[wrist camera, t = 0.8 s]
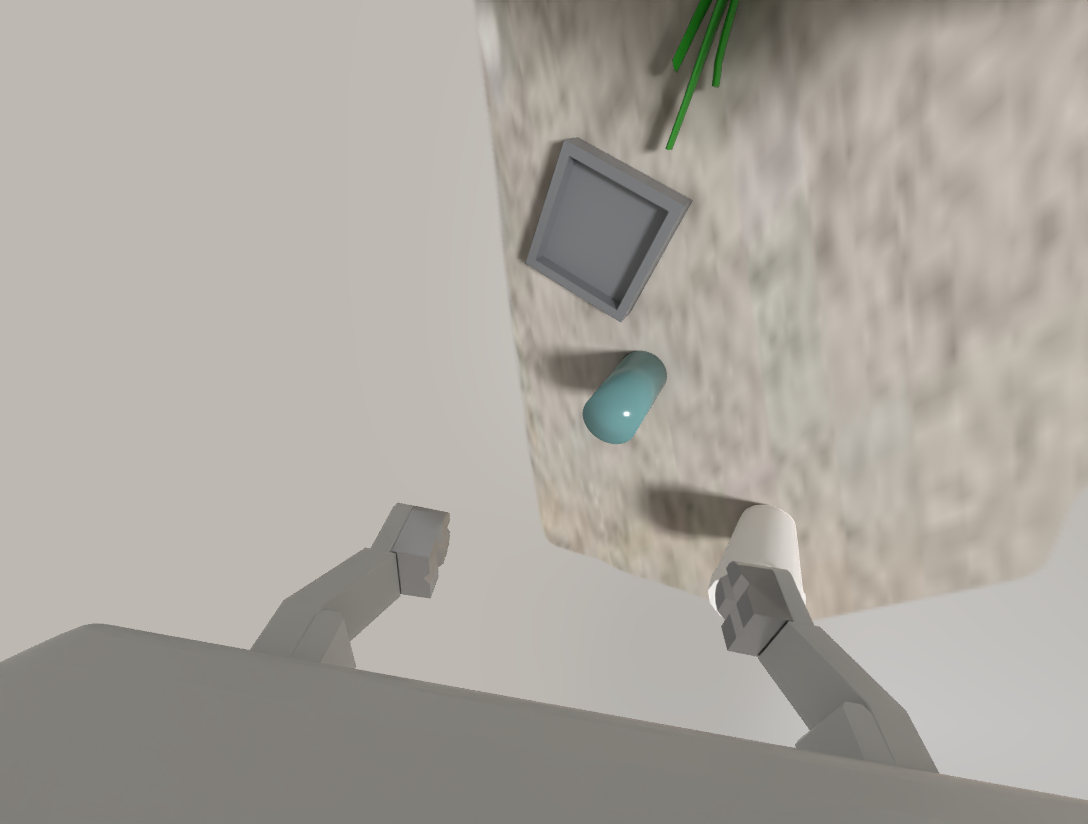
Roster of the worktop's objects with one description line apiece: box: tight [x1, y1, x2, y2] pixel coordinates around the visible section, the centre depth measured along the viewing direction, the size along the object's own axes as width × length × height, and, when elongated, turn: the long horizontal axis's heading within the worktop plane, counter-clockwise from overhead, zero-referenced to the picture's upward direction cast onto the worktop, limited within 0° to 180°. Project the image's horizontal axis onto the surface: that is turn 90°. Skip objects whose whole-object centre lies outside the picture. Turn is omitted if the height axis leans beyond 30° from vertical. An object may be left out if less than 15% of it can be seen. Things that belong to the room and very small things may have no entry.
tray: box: [526, 138, 693, 322], centre depth 44 cm, size 13×13×3 cm
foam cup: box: [708, 505, 806, 617], centre depth 50 cm, size 10×9×13 cm
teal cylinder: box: [583, 351, 667, 444], centre depth 48 cm, size 6×6×11 cm
